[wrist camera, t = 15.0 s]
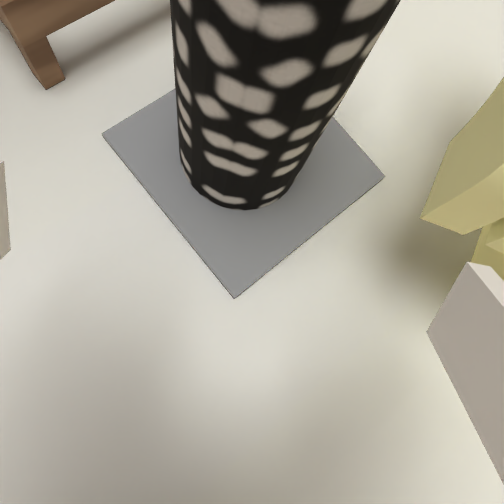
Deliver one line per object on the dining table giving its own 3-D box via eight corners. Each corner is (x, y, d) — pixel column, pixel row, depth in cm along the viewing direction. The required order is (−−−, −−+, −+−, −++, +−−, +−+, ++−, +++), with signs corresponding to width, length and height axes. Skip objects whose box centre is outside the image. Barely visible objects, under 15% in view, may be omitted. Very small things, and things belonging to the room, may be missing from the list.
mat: (102, 136, 28) (101, 133, 28) (260, 40, 32) (261, 36, 31) (233, 298, 27) (234, 297, 26) (382, 178, 30) (385, 176, 30)
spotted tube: (265, 84, 30) (394, -385, 11) (320, 182, 29) (571, -158, 10) (159, 123, 28) (91, -361, 9) (212, 230, 27) (263, -76, 8)
